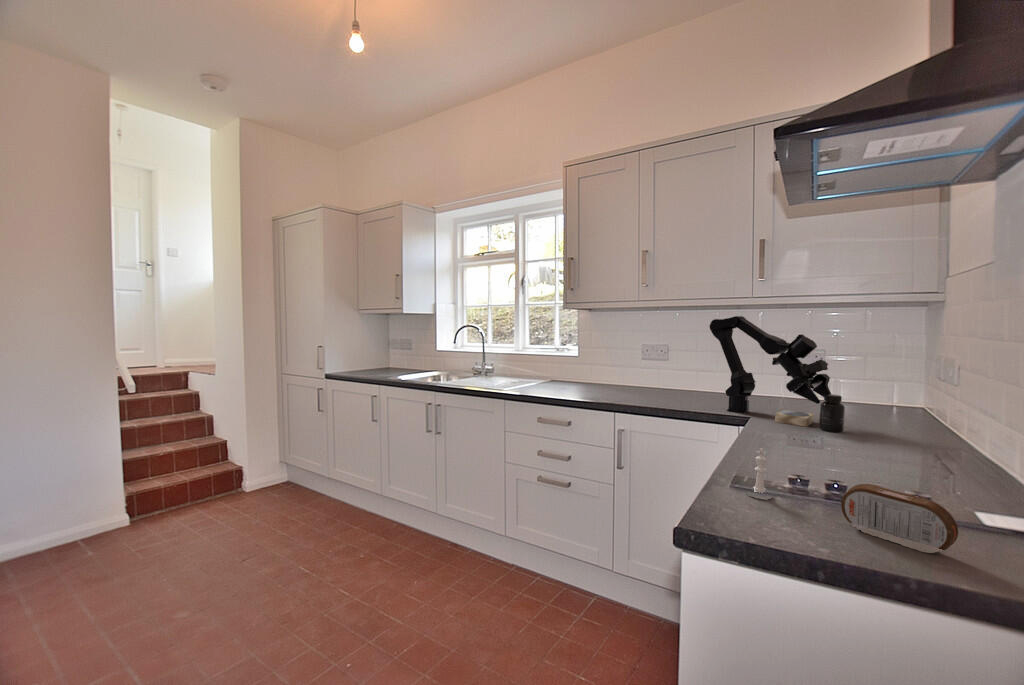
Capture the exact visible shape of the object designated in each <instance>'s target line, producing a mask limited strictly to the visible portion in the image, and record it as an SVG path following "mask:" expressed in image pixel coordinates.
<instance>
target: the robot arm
mask: <svg viewBox="0 0 1024 685" xmlns="http://www.w3.org/2000/svg"><path fill="white" fill-rule="evenodd" d="M708 327H709V330H710V332H711V334H712V335H713V337H714V338H716V339H717V340H718V341H719V344H720V346H721V350H722V351H723V354H724V357H725V360H726V362H727V366H728V367H729V368H728V369H729V370H730V373H731V374H730V386H729V387H728V388H726V389H725V395H726V396H727V397H728V408H727V409H726V412H733V413H739V412H740V414H745V413H747V412H749V411H750V400H749V397H751V396H752V393H753V392H754V390H755V388H756V383H757V382H756V380H755V379H754V374H753V373H752V372H747V371H746V370H745V367H744V366H743V363H742V360H741V358H740V356H739V352H738V349H737V348H736V344H735V343H734V339H733V333H734V329H737V328H738V329H739V330H740V331H741V332H743V333H745V335H747V336H749V337H750V338H752V339H753V340H754V341H756V342H757V343H758V344H759V346H760V348H761V350H763V351H764V352H765V353H766V354H768V355H772V356H773V355H778V356H777V357H776V356H775V357H772V363H771V364H772V366H777V365H781V367H782V369H784V370H785V372H786V376H787V377H791V378H792V379H791V380H790V381H789V382H787V383H786V386H785V387H786V389H787V391H788V392H789V393H793V394H796V395H797V396H800V397H802V398H805V399H807V400H808V401H811V402H812V403H814V404H817V405H820V404H821V400H820V399H819V397H818V396H817V394H818V395H820V396H821V397H822V398H824V395H825V394H832V392H831V390H830V388H829V382H830V379H831V377H830V376H829V375H828V374H827V373H819V372H823V371H827V370H829V368H828V366H829V363H827V362H826V360H823V359H819V360H815V361H814V362H811V363H803V362H802V361H801V360H800V359H805V358H806V357H807V356H808V355H809V354H811V353H812V352H813V351H814V350H816V349H817V348H818V345H817V343H816V342H815V341H814V340H813V339H810V338H809V337H807V336H805V335H804V334H798V335H797V336H796V337H795V339H794V340H792V342H790V343H789V342H787V340H786V339H783V338H780V337H778V336H775V335H772V334H769V333H767V332H765V331H764V330H763V329H761V328H760V327H758V326H757V325H755V324H754V323H752V322H751V321H749V320H748V319H747V318H746V317H744V316H742V315H734V316H731V317H729V318H719V319H718V318H714V319H713V320H711V322H710V324H709V326H708Z"/></svg>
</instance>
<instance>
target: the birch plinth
mask: <svg viewBox="0 0 1024 685" xmlns="http://www.w3.org/2000/svg"><path fill="white" fill-rule="evenodd" d="M814 416H815V414H814V413H809V412H802V411H795V410H787V409H782V410H780V411H778V412H776V413H775V414H774V423H781V424H787V425H793V426H800V427H808V426H810V425H812V424H813V423H814V419H815V418H814Z"/></svg>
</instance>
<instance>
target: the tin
mask: <svg viewBox="0 0 1024 685" xmlns="http://www.w3.org/2000/svg"><path fill="white" fill-rule="evenodd" d="M840 505H841V506H840V508H841V512H842V514H843V517H844V519H845V520H847V521H846V522H848V523H849V522H850V523H853V524H858V525H861V526H865V527H868V528H871V529H874V530H878V531H882V532H884V533H888V534H891V535H893V536H896V537H899V538H902V539H906V540H910V541H914V542H917V543H923V544H926V545H930V546H933V547H936V548H939V549H942V550H944V551H946V550H947V549H949V548H950V547H951V546H952V545H954V543H955V542H957V539H958V537H959V528H958V524H957V522H956V520H955V518H954V517H953V515H952V514H951V513H950V512H949V511H948V510H947V509H946V508H945V507H943V506H942V505H941V504H939V503H937V502H935V501H934V500H930V499H927V498H924V497H919V496H916V495H913V494H909V493H905V492H901V491H898V490H897V491H896V490H894V489H890V488H886V487H882V486H878V485H876V484H871V483H870V484H869V483H861V484H860V483H859V484H856V485H853V486H852V487H850V488H849V489H848V490H847V491H846V492H845V493H844V494H843V496H842V498H841V502H840ZM850 523H849V524H850Z"/></svg>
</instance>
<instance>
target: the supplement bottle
mask: <svg viewBox="0 0 1024 685" xmlns="http://www.w3.org/2000/svg"><path fill="white" fill-rule="evenodd" d="M823 400H824V401H823V402H820V403H819V420H818V421H819V422H818V424H819V425H818V427H819V428H818V429H819V430H821V431H823V432H829V433H843V432H844V429H845V428H844V427H845V409H846V407H845V405H844V404H843V403H841V402H842V395H841V394H840V395H838V394H832V393H831V394H825V395H824V397H823Z"/></svg>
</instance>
